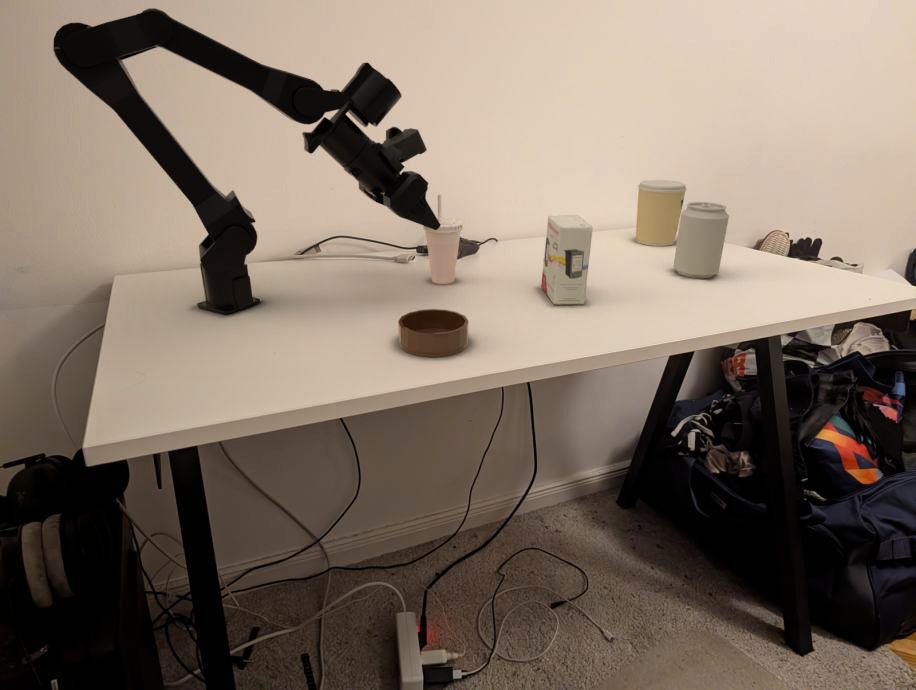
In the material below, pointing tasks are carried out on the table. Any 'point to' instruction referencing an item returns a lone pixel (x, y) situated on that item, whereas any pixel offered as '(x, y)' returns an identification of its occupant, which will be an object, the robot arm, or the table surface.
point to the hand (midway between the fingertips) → (428, 221)
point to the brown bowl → (433, 332)
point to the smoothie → (443, 248)
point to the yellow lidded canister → (659, 211)
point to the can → (701, 239)
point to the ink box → (566, 259)
